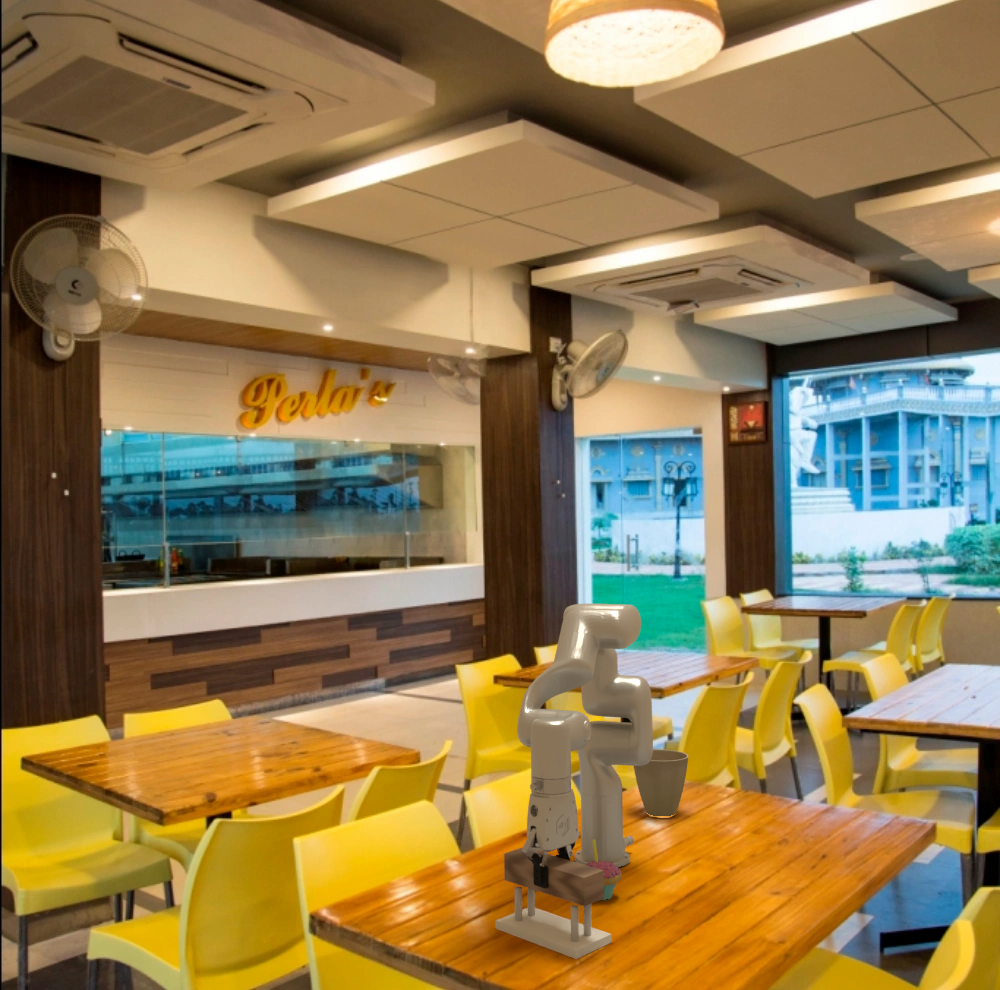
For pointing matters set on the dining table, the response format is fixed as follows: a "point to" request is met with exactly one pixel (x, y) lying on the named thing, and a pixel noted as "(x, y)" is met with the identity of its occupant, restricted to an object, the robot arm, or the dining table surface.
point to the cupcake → (606, 873)
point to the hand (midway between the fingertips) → (552, 881)
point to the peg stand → (553, 928)
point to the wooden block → (557, 877)
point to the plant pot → (662, 781)
